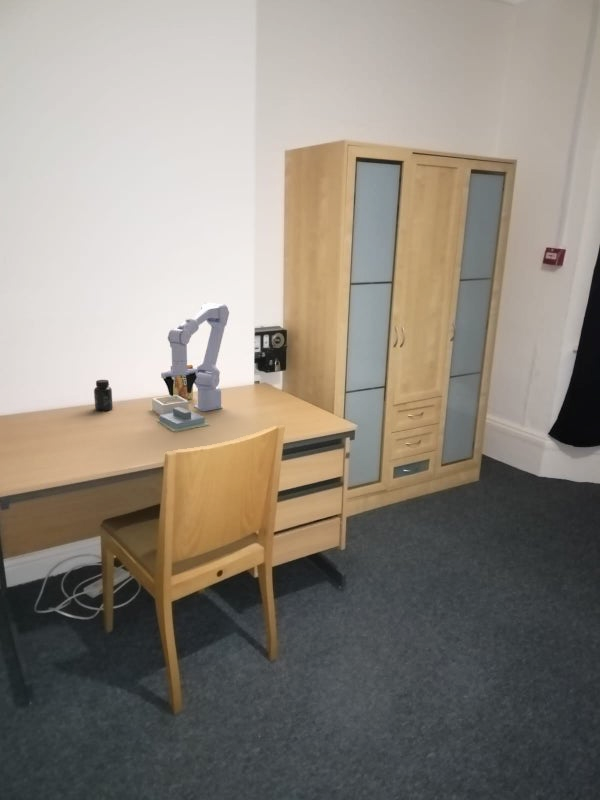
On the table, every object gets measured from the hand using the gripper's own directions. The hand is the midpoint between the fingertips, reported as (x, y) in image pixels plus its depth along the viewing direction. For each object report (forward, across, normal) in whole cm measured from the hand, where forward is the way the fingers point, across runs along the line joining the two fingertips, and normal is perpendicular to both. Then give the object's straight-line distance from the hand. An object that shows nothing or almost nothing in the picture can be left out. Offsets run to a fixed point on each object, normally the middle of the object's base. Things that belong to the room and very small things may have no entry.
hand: (180, 393), depth 223 cm
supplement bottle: (+10, +21, -27) cm, 36 cm away
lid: (+10, +2, +5) cm, 11 cm away
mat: (+10, +2, +5) cm, 12 cm away
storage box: (+10, 0, -11) cm, 15 cm away
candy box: (+11, -13, -25) cm, 30 cm away
